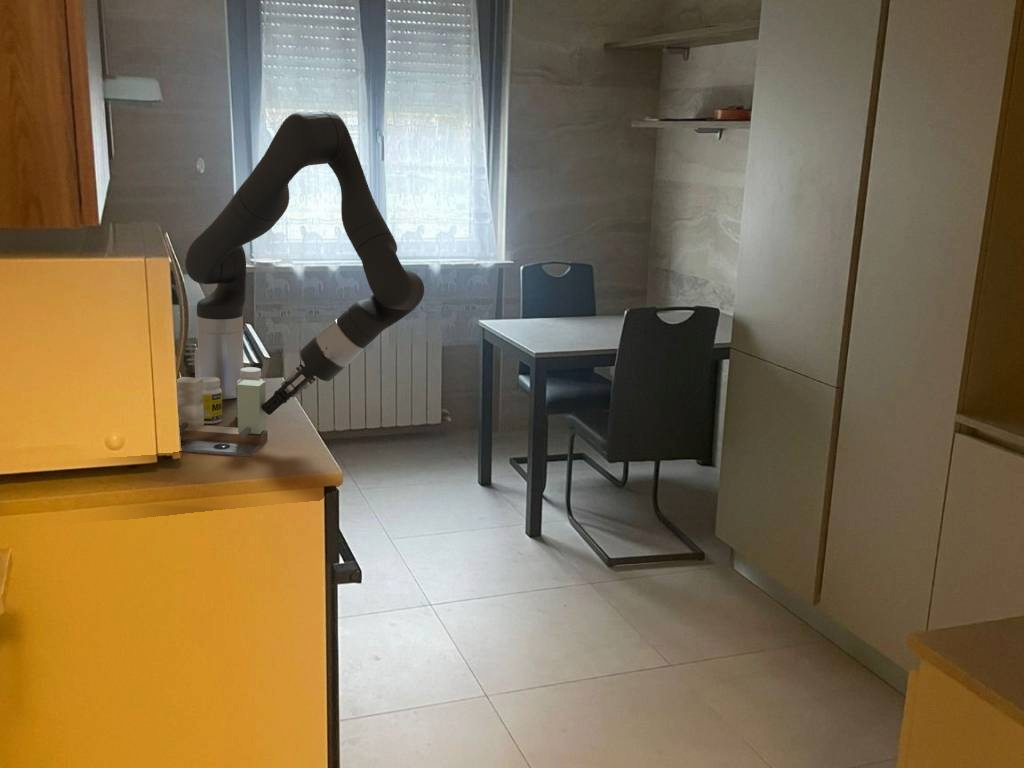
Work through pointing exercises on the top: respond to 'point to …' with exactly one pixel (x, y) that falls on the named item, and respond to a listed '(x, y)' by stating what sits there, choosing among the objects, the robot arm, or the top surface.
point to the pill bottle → (249, 375)
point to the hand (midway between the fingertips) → (265, 410)
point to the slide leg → (251, 407)
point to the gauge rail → (225, 435)
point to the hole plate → (218, 447)
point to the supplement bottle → (212, 400)
